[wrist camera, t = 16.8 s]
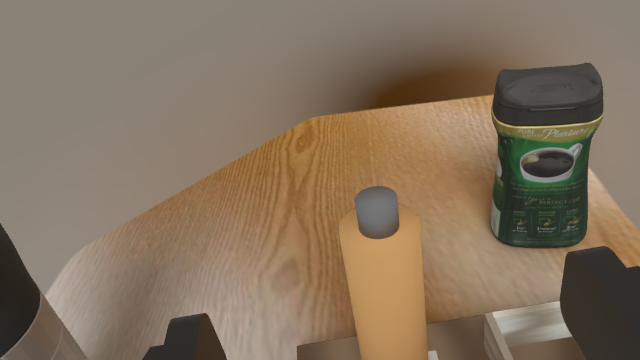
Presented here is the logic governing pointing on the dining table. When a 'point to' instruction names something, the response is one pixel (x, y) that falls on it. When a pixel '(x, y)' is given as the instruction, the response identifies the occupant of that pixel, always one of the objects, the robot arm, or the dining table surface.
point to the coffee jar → (544, 153)
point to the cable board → (479, 338)
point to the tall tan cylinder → (385, 276)
